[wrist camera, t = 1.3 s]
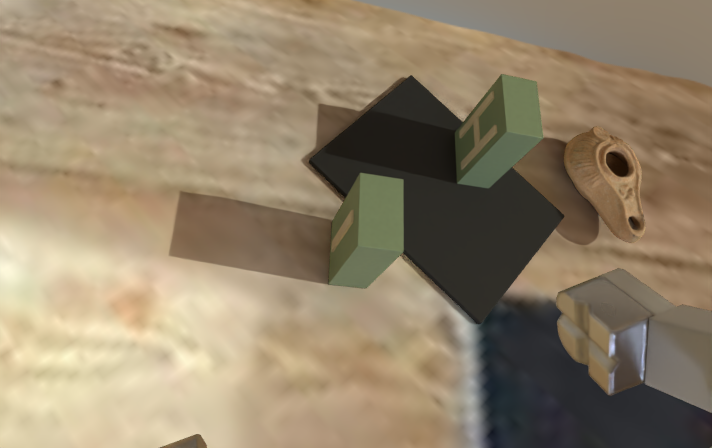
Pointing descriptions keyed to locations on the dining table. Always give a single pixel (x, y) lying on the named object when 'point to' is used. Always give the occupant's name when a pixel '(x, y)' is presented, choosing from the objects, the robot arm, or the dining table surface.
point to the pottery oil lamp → (608, 180)
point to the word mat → (443, 198)
